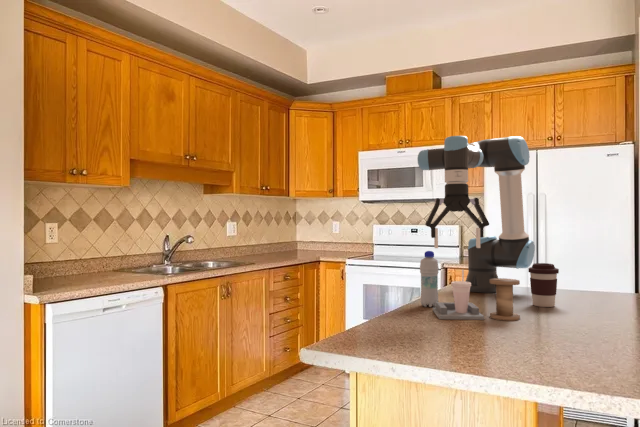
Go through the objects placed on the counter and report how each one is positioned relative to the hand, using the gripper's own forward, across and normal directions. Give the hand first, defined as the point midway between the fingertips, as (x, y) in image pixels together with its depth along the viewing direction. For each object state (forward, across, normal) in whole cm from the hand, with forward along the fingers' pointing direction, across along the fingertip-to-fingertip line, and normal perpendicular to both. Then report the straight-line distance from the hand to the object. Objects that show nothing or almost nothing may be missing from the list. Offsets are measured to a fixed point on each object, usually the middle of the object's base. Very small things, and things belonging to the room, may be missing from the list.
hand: (457, 247), depth 161 cm
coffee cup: (+22, +34, +18) cm, 44 cm away
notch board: (+22, 0, 0) cm, 22 cm away
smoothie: (+21, +1, 0) cm, 21 cm away
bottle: (+22, -7, +15) cm, 28 cm away
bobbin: (+22, +14, -4) cm, 26 cm away
